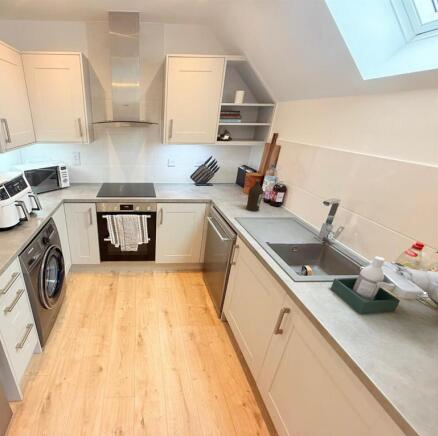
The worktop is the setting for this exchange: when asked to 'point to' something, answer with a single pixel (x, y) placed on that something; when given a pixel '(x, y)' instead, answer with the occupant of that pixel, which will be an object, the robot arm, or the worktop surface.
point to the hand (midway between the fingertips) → (368, 276)
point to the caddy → (379, 304)
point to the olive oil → (254, 196)
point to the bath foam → (369, 280)
